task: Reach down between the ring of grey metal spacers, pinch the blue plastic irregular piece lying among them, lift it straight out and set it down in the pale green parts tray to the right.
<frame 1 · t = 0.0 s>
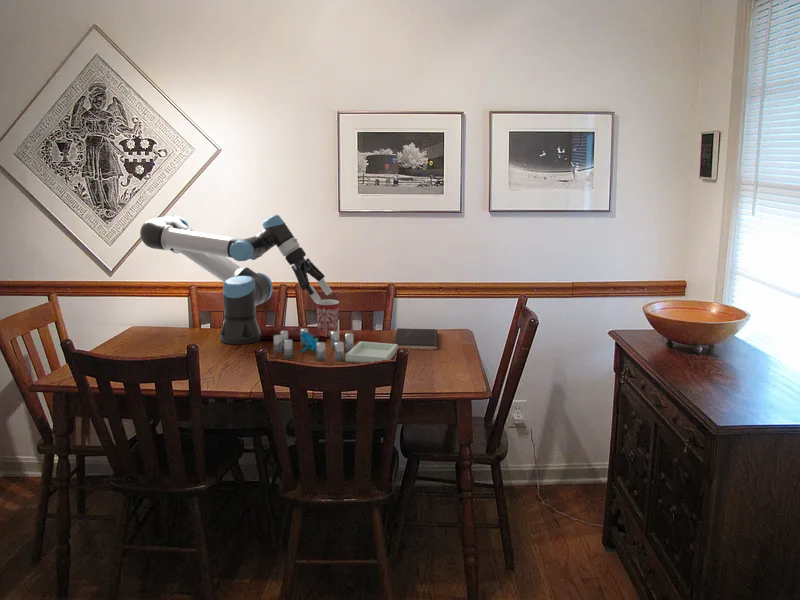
hand: (324, 297, 278), 15 cm above the table, tool tilted 35°, fingers open, 13 cm apart
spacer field: (312, 352, 259), on the table
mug: (329, 334, 284), on the table
parts tray: (372, 356, 255), on the table
hardcover book: (416, 342, 276), on the table
blue plastic irregular piece: (312, 352, 259), on the table
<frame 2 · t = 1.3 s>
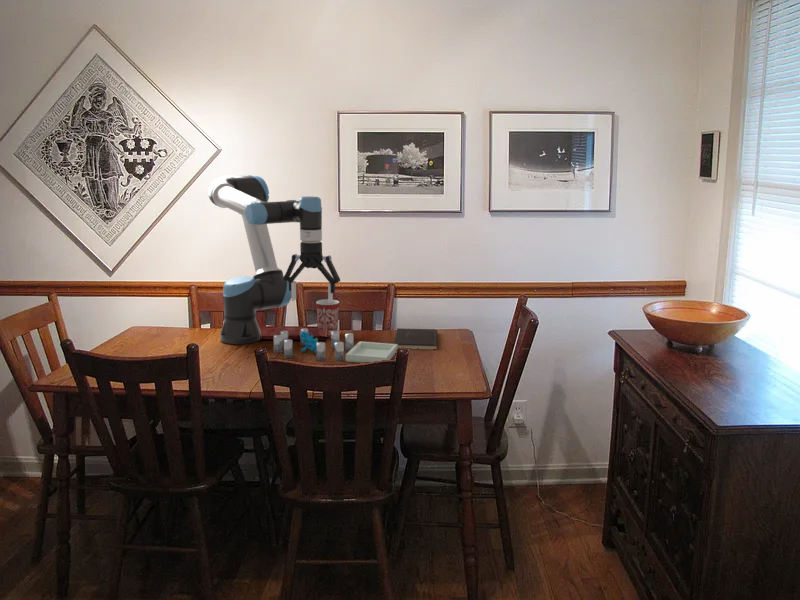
hand: (312, 301, 255), 19 cm above the table, tool pointing down, fingers open, 13 cm apart
nothing on the table moved.
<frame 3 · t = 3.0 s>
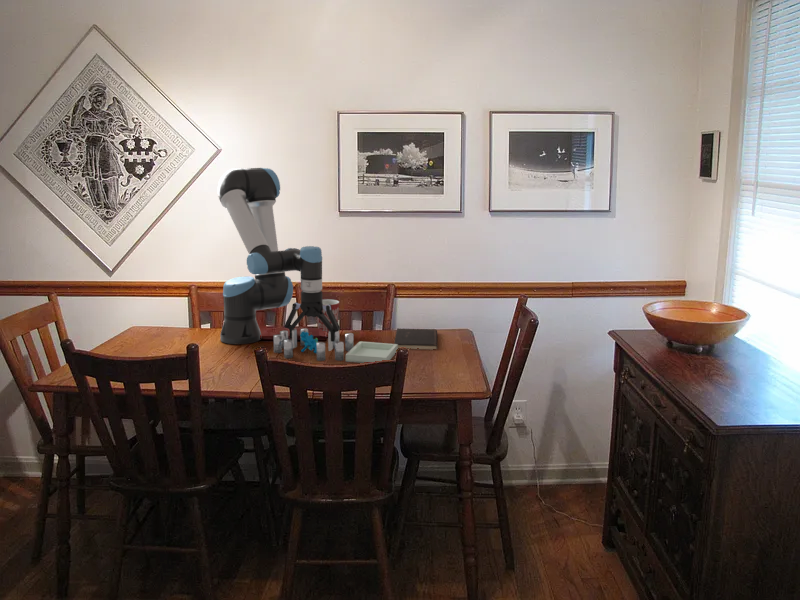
hand: (312, 348, 259), 1 cm above the table, tool pointing down, fingers open, 13 cm apart
nothing on the table moved.
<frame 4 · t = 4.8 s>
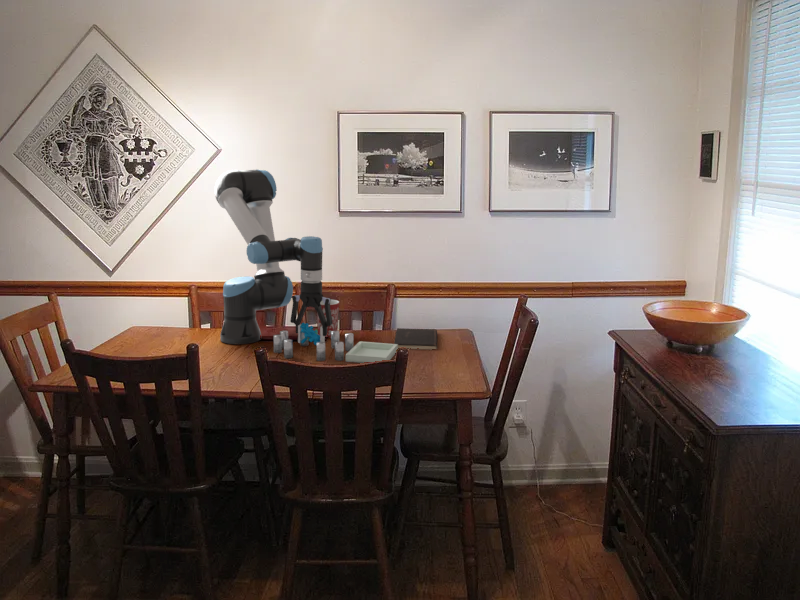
hand: (311, 343, 259), 3 cm above the table, tool pointing down, fingers closed on blue plastic irregular piece, 8 cm apart
blue plastic irregular piece: (311, 344, 259), point 3 cm above the table, touching gripper
everything else where it was.
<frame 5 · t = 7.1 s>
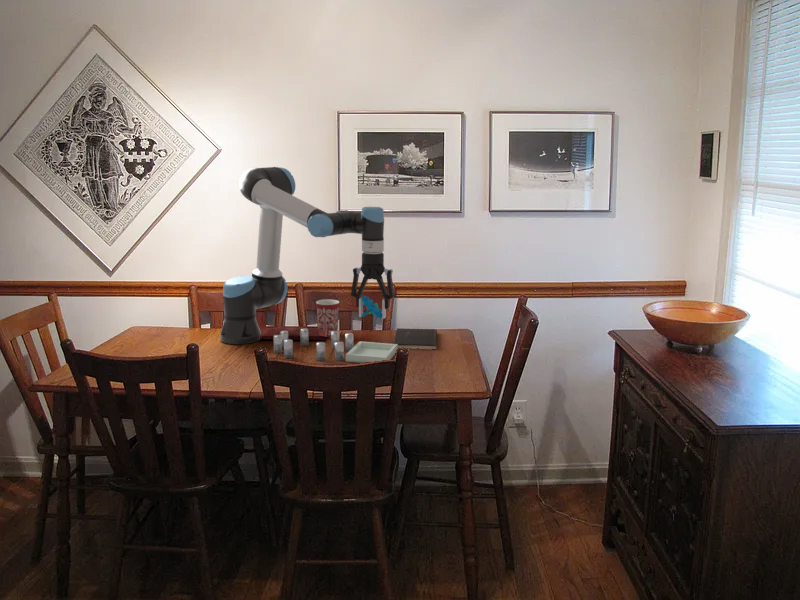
hand: (372, 316, 252), 14 cm above the table, tool pointing down, fingers closed on blue plastic irregular piece, 8 cm apart
blue plastic irregular piece: (372, 317, 253), point 14 cm above the table, touching gripper
everything else where it was.
when the fingers open (3 cm above the table, at t = 9.5 s): blue plastic irregular piece drops 2 cm, resting on parts tray.
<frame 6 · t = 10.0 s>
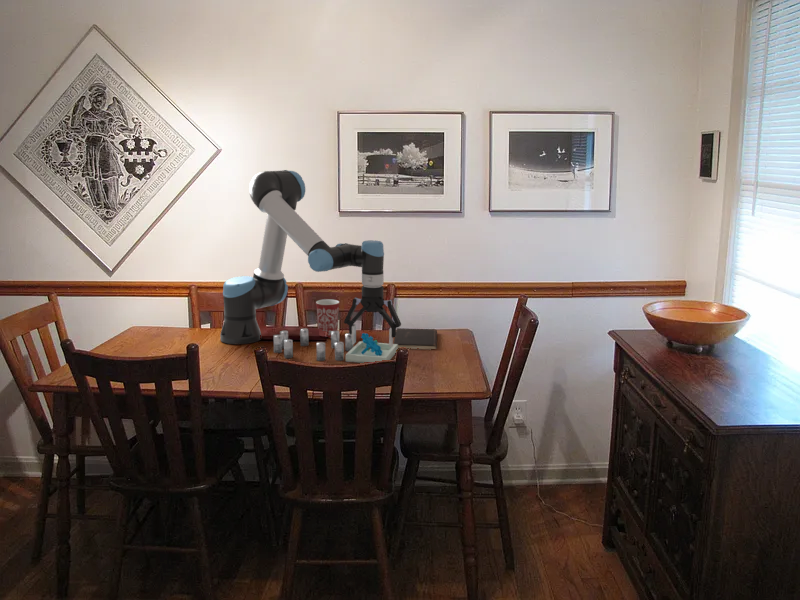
hand: (372, 344, 255), 4 cm above the table, tool pointing down, fingers open, 13 cm apart
blue plastic irregular piece: (372, 354, 255), resting on parts tray
everything else where it was.
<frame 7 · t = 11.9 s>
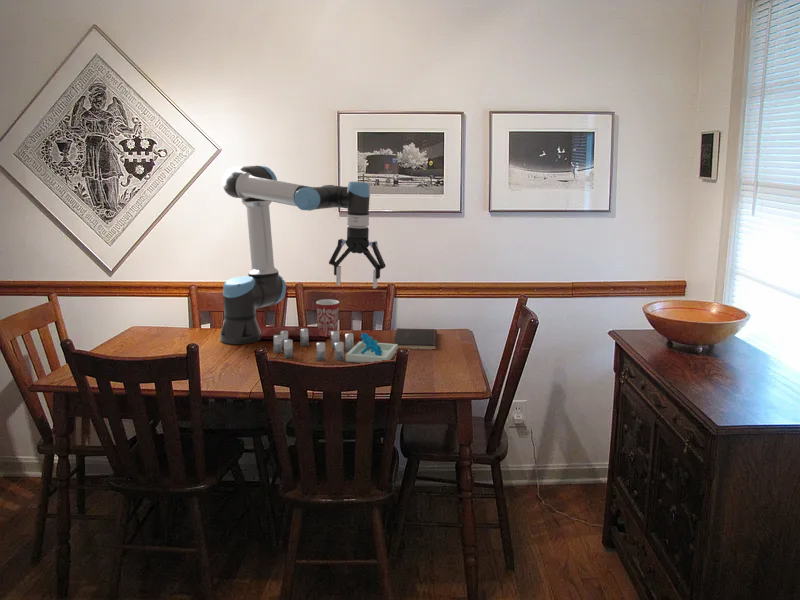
hand: (356, 286, 257), 24 cm above the table, tool pointing down, fingers open, 13 cm apart
nothing on the table moved.
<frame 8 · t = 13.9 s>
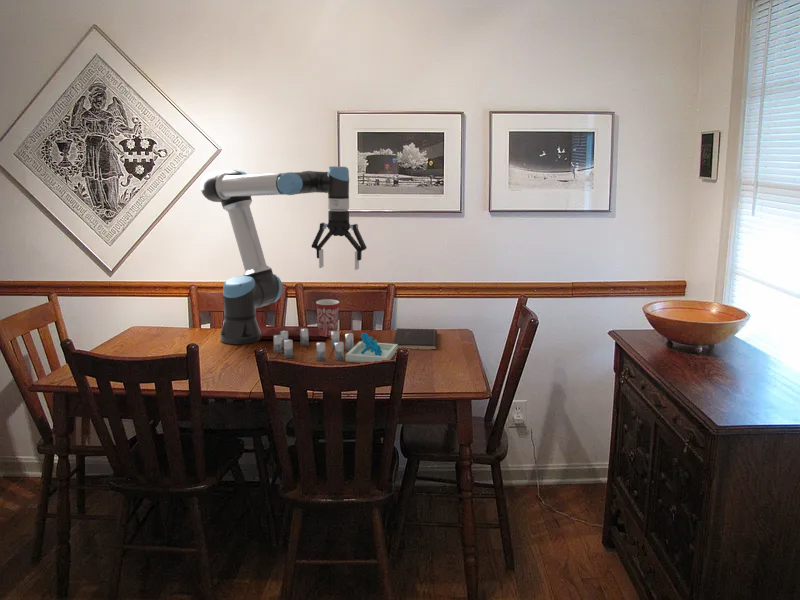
hand: (339, 268, 264), 29 cm above the table, tool pointing down, fingers open, 13 cm apart
nothing on the table moved.
at the end: blue plastic irregular piece inside the target area on the parts tray (0.3 cm from its centre), point 0.4 cm above the parts tray's base; the gripper is holding nothing; blue plastic irregular piece inside the target area (1.2 cm from its centre), resting on parts tray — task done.
